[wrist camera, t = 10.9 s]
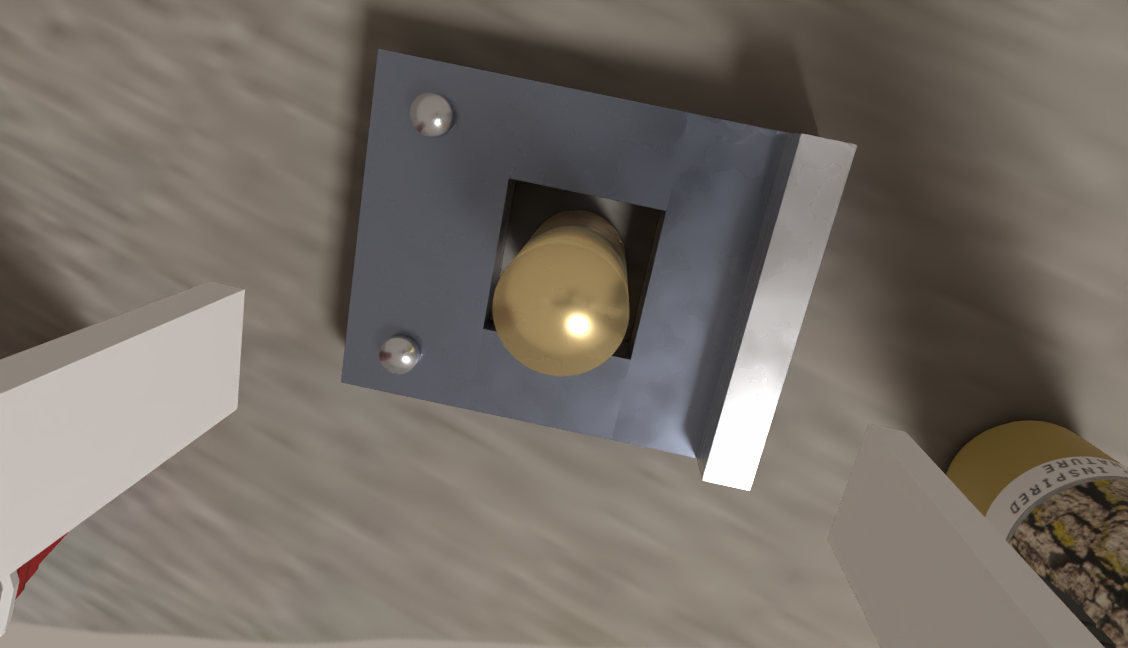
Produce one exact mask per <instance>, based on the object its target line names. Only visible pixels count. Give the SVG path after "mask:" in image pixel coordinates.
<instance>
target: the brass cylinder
mask: <svg viewBox="0 0 1128 648" xmlns="http://www.w3.org/2000/svg"><path fill="white" fill-rule="evenodd" d="M492 307H493V319H494V325H495V328H496V331H497V333H498V336H499V338H500V340H501V342H502V343H503V345H504V346H505V348H506V349H507V350H508V351H509V353H510V354H511V355H512V356H513V357H514V358H515V359H516V360H518V361H519V362H520V363H522V364H523V365H525V366H527V367H528V368H530V369H532V370H535V371H537V372H539V373H543V374H547V375H553V376H573V375H578V374H582V373H585V372H587V371H590V370H592V369H594V368H596V367H598V366H599V365H601V364H602V363H604V362H605V361H606V360H607V359H608V358H609V357H611V356H612V354H613V353H614V352H615V351H616V350H617V348H618V347H619V345H620V344H621V342H622V340H623V338H624V336H625V333H626V330H627V326H628V321H629V296H628V281H627V266H626V254H625V248H624V244H623V242H622V239H621V237H620V235H619V234H618V232H617V231H616V229H615V228H614V227H613V226H612V225H611V224H610V223H609V222H608V221H607V220H605V219H604V218H602V217H600V216H599V215H596V214H594V213H591V212H588V211H582V210H571V211H565V212H561V213H558V214H556V215H554V216H552V217H550V218H549V219H547V220H546V221H545V222H543V223H542V224H541V226H540V227H539V228H538V229H537V230H536V232H535V233H534V234H533V235H532V237H531V238H530V239H529V240H528V242H527V243H526V244H525V246H524V247H523V248H522V249H521V251H520V252H519V253H518V255H517V256H516V257H515V258H514V260H513V261H512V262H511V263H510V265H509V266H508V267H507V269H506V270H505V271H504V273H503V274H502V276H501V278H500V280H499V281H498V284H497V286H496V289H495V293H494V297H493V306H492Z"/></svg>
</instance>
